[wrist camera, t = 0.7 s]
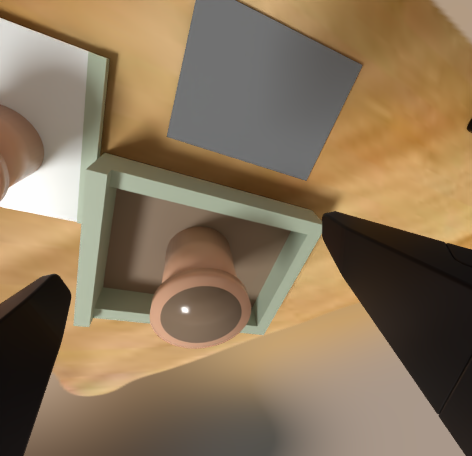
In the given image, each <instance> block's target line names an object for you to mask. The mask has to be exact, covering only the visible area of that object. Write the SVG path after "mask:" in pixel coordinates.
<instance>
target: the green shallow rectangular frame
mask: <svg viewBox="0 0 472 456" xmlns="http://www.w3.org/2000/svg"><path fill="white" fill-rule="evenodd" d="M198 226H200V227H208V228H212V229H214V230H216V231H218V232H220V233H221V234H222V235H223V236H224V237H225V238H226V239H227V241H228V243H229V246H230V249H231V254H232V258H233V262H234V266H235V271H236V275H237V278H238V279H239V280H240V281H241V282H242V283H243V284H244V286H245V288H246V289H247V292H248V296H249V300H250V303H251V315H250V318H249V321H248V323H247V324H246V326H245V327H244V328H243V330H242V331H241V332H240V333H249V334H259V335H264V333H265V332H266V330H267V328H268V326H269V325H270V323H271V321H272V319H273V318H274V316H275V314H276V312H277V311H278V309H279V307H280V305H281V304H282V302H283V300H284V298H285V297H286V295H287V293H288V291H289V290H290V288H291V286H292V284H293V283H294V281H295V279H296V278H297V276H298V274H299V272H300V271H301V269H302V267H303V265H304V264H305V262H306V260H307V258H308V257H309V255H310V253H311V251H312V250H313V248H314V246H315V244H316V243H317V241H318V239H319V237H320V236H321V234H322V221H321V220H320V219H319V218H318V216H317V215H316V214H315V213H314V212H313V211H312V210H309V209H306V208H302V207H299V206H295V205H291V204H288V203H284V202H281V201H277V200H273V199H270V198H266V197H263V196H259V195H255V194H252V193H248V192H245V191H241V190H237V189H234V188H230V187H227V186H223V185H219V184H216V183H212V182H209V181H205V180H201V179H198V178H194V177H191V176H187V175H183V174H180V173H176V172H173V171H169V170H165V169H162V168H158V167H155V166H151V165H147V164H144V163H140V162H137V161H133V160H129V159H126V158H122V157H119V156H115V155H111V154H108V153H104V154H103V155H102V156H100V157H99V158H98V159H97V160H96V161H95V162H94V163H92V164H91V165H90V166H89V167H88V168H87V169H86V173H85V186H84V199H83V212H82V224H81V237H80V250H79V263H78V276H77V288H76V301H75V314H74V326H82V327H90V324H91V322H92V319H93V318H100V319H110V320H120V321H130V322H140V323H150V309H151V303H152V298H153V296H154V293H155V292H156V290H157V289H158V287H159V286H160V285H161V284H162V278H163V271H164V264H165V256H166V250H167V246H168V244H169V242H170V240H171V239H172V238H173V237H174V236H175V235H176V234H177V233H179V232H180V231H182V230H184V229H187V228H190V227H198Z"/></svg>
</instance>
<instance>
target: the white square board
mask: <svg viewBox="0 0 472 456" xmlns="http://www.w3.org/2000/svg"><path fill="white" fill-rule="evenodd" d="M109 61H110V59H108V58H106V57H103V56H100V55H98V54H95V53H92V52H90V51H87V50H84V49H82V48H79V47H76V46H74V45H71V44H69V43H66V42H63V41H61V40H58V39H55V38H53V37H50V36H47V35H45V34H42V33H40V32H37V31H34V30H32V29H29V28H26V27H24V26H21V25H18V24H16V23H13V22H11V21H8V20H5V19H3V18H0V105H3V106H6V107H8V108H10V109H12V110H14V111H16V112H18V113H19V114H20V115H22V116H23V117H24V118H26V119H27V120H28V121H29V122H30V123H31V124H32V125H33V127H34V128H35V129H36V131H37V132H38V134H39V136H40V138H41V140H42V143H43V146H44V159H43V162H42V165H41V166H40V168H39V169H38V170H37V171H35V172H34V173H32V174H31V175H29V176H28V177H26V178H24V179H23V180H21V181H19V182H18V183H16V184H14V185H13V186H11V187H9V188H8V191H7V193H6V195H5V197H4V198H3V200H2V201H1V202H0V207H4V208H9V209H14V210H19V211H24V212H29V213H34V214H39V215H45V216H50V217H55V218H60V219H65V220H70V221H75V222H77V223H81V224H82V212H83V199H84V186H85V173H86V169H87V168H88V167H89V166H90V165H91V164H92V163H94V162H95V161H96V160H97V159H98V158H99V157H100V150H101V140H102V130H103V120H104V111H105V101H106V91H107V81H108V71H109Z"/></svg>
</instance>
